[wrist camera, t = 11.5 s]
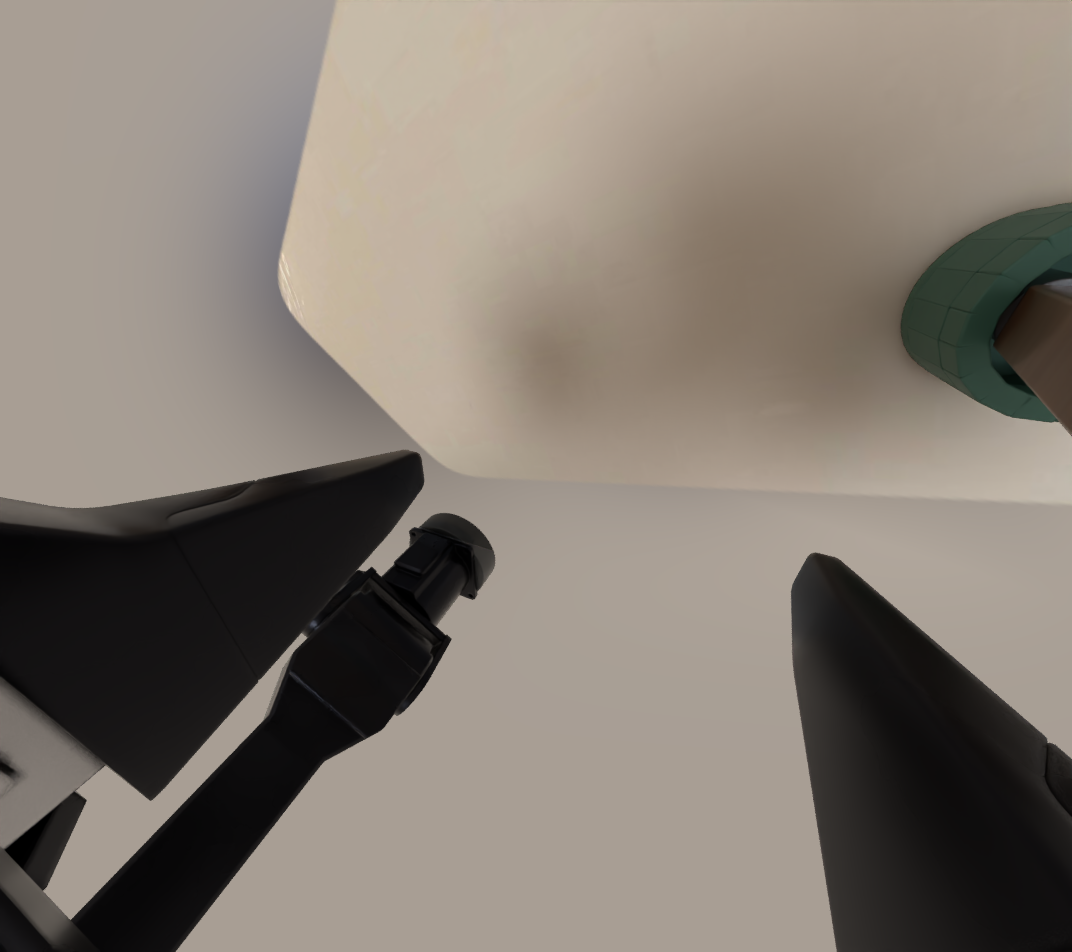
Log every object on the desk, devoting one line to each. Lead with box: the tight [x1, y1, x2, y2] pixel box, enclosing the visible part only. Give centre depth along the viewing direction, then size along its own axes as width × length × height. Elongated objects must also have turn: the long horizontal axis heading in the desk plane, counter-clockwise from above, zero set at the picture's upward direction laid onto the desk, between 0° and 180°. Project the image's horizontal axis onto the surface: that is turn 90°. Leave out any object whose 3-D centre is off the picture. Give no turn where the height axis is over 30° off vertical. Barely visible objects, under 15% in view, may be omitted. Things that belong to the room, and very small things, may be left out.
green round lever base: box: [901, 203, 1072, 422], centre depth 11 cm, size 5×6×4 cm
